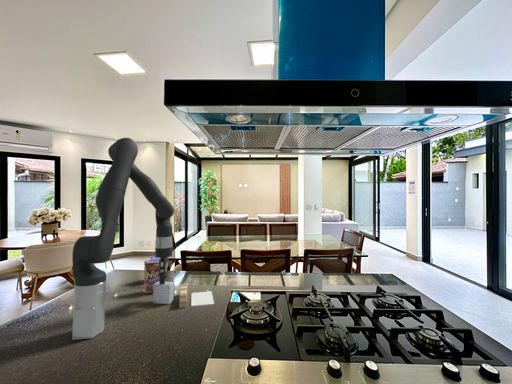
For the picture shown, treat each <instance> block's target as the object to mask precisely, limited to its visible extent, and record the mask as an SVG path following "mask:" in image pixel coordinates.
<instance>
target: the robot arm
mask: <svg viewBox="0 0 512 384" xmlns="http://www.w3.org/2000/svg"><path fill="white" fill-rule="evenodd" d="M107 152H108V155H109V158H110V159H111V161H112V164H111V166H110V168H109V170H107V172H106V174H105V175H104V177H103V179H102V180H101V182H100V185H99V187H98V190H97V193H96V196H95V201H94V202H95V206H96V209H97V211H98V214H99V217H100V219H101V228H100V233H99V235H85V236H80V237H79V238H78V239H76V241H75V242H74V245H73V249H72V255H71V256H72V257H71V258H72V259H71V260H72V261H71V262H72V278H73V280H74V285H73V286H74V288H73V291H74V292H73V307H72V309H73V311H72V327H71V336H72V337H71V340H72V341H77V340H85V339H93V338H95V337H96V336H98V335H100V334H101V333H102V332H104V330H105V312H106V293H107V292H106V291H107V290H106V288H107V272H105V271H104V270H102V269H100V268H98V266H96V265H95V264H103V263H106V262H108V261H109V259H110V258H111V256H112V253H113V250H114V247H115V241H116V234H117V228H118V223H119V218H120V214H121V211H122V206H123V204H124V200H125V196H126V192H127V188H128V185H129V179H130V180H131V181H132V182H133V183H134V184H135V186H136V187H137V188H138V189H139V191H140V193H141V194H142V195H143V196H144V198H145V200H146V201H148V202H149V203H150V204H151V205H152V206H153V207H154V210H155V213H154V214H155V224H156V227H155V228H156V229H155V230H156V231H155V244H154V246H155V247H154V255H155V257H156V258H160V260H159V276H160V282H159V284H160V285H163V284H165V282H166V279H167V271H168V267H169V259H168V258H170V257H172V256H173V225H172V223H171V218H172V217H173V216H174V214H175V207H174V206H173V205H172V203H171V201H169V199H167V197H166V196H165V195H164V193H162V191H161V189H160V188H159V186H158V185H157V184H156V182H155V181H154V180H153V179H152V178H151V177H149V175H147V174H145V173H144V172H143V171H141V170H140V168H138V167H137V165H136V164H135V161H136V159H137V157H138V156H137V155H138V153H139V148H138V145H137V143H136V142H135V141H134V139H132V138H130V137H122V138H120V139H117V140H116V141H115V142H114V143H112V144H111V145H110V146H109V147H108V150H107ZM155 257H154V258H155ZM161 271H162V273H161ZM99 333H100V334H99Z"/></svg>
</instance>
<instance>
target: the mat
mask: <svg viewBox="0 0 512 384" xmlns="http://www.w3.org/2000/svg"><path fill="white" fill-rule="evenodd" d="M190 297H191V300H190V301H191V302H190V303H191V304H190V305H191V307H192V308H193V307H202V306H204V307H205V306H214V305H215V301H214V297H213V291H200V292H199V291H198V292H191V296H190Z"/></svg>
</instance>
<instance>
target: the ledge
mask: <svg viewBox="0 0 512 384" xmlns="http://www.w3.org/2000/svg"><path fill="white" fill-rule="evenodd" d="M188 285H189V284H188V283H183V284H182V283H181V284H180V291H179V304H178V305H179V307H178V308H179V309H182V308H187V306H188Z"/></svg>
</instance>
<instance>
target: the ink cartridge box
mask: <svg viewBox="0 0 512 384" xmlns="http://www.w3.org/2000/svg"><path fill="white" fill-rule="evenodd" d="M159 260H160V258H157V257H155V254H154V255H150V259H149V260H144V264H143V266H144V271H143V272H144V275H143V276H144V279H143V281H144V283H145V263H146V262H147V261H159Z"/></svg>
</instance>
